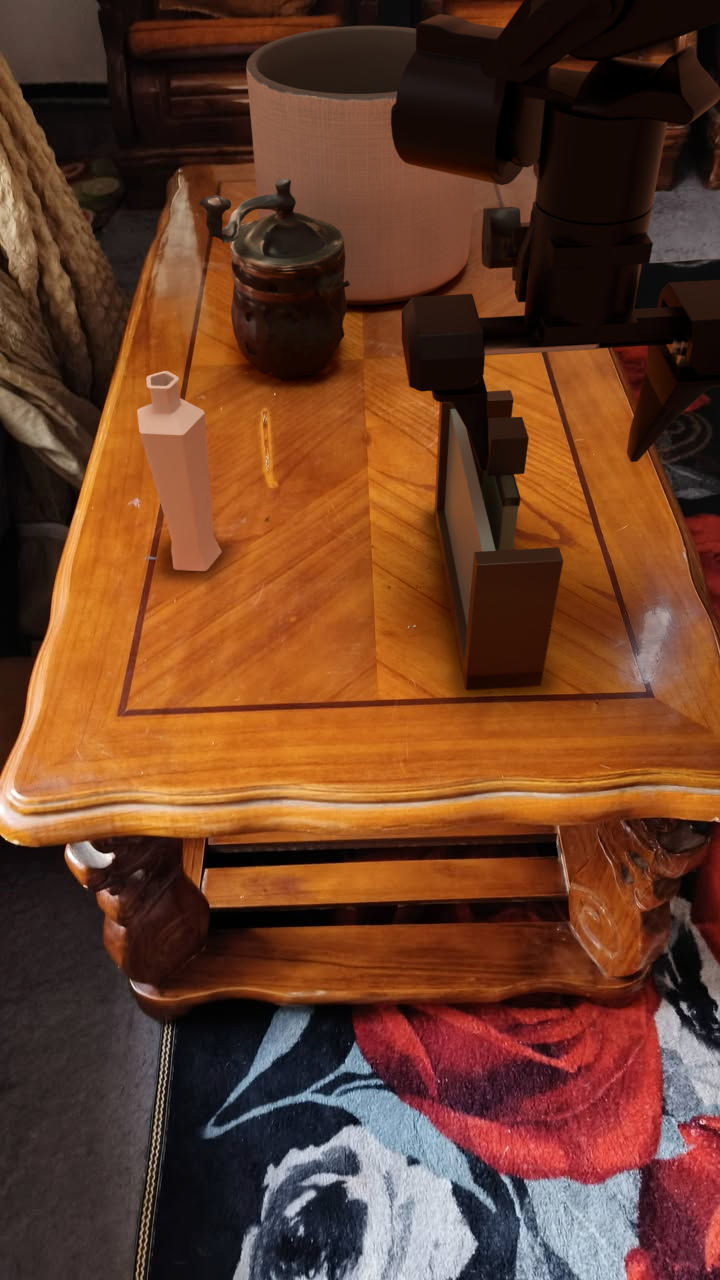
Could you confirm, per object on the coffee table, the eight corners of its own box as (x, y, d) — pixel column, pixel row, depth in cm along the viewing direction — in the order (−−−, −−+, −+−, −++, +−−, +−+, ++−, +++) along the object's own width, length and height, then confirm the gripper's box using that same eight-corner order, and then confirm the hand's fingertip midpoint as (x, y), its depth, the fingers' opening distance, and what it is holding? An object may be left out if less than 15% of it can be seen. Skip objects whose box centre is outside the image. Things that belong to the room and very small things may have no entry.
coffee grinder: (187, 393, 88) (153, 192, 75) (263, 319, 97) (244, 129, 84) (311, 424, 84) (298, 217, 71) (378, 344, 93) (377, 148, 80)
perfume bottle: (230, 536, 74) (204, 361, 63) (219, 575, 71) (189, 398, 60) (172, 533, 74) (136, 359, 63) (158, 571, 71) (118, 395, 60)
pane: (500, 529, 71) (516, 395, 63) (517, 595, 66) (536, 460, 58) (468, 530, 71) (479, 397, 63) (483, 597, 66) (497, 462, 58)
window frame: (497, 512, 75) (510, 389, 67) (540, 685, 63) (563, 560, 55) (434, 516, 75) (439, 393, 67) (465, 690, 63) (476, 565, 55)
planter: (448, 213, 114) (457, 18, 99) (488, 304, 98) (506, 88, 84) (258, 227, 112) (239, 30, 98) (269, 321, 97) (248, 104, 82)
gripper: (728, 134, 53) (671, 384, 64) (393, 152, 53) (395, 400, 64) (803, 216, 45) (724, 483, 57) (411, 238, 45) (409, 502, 56)
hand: (557, 462), depth 59 cm, fingers open, 9 cm apart
